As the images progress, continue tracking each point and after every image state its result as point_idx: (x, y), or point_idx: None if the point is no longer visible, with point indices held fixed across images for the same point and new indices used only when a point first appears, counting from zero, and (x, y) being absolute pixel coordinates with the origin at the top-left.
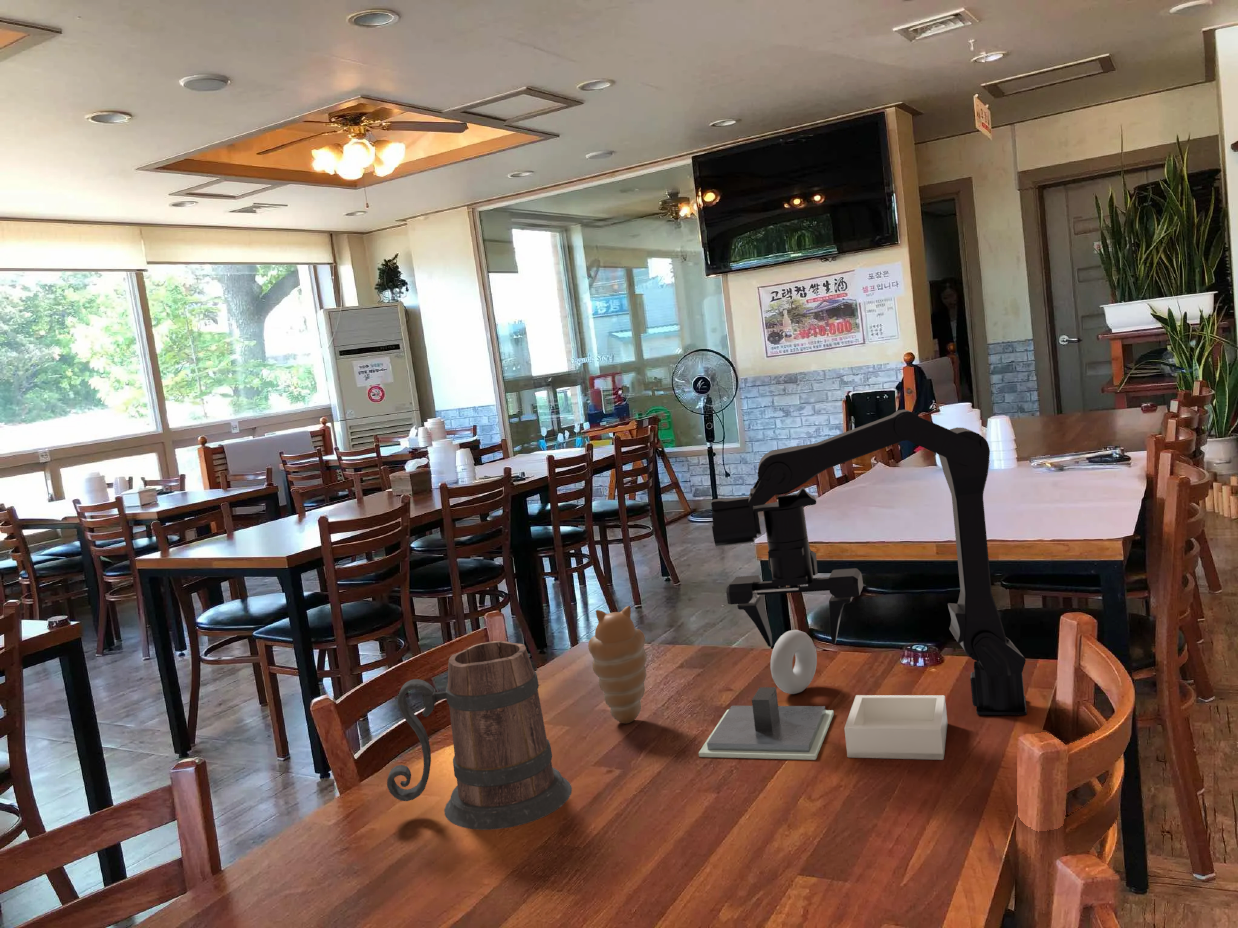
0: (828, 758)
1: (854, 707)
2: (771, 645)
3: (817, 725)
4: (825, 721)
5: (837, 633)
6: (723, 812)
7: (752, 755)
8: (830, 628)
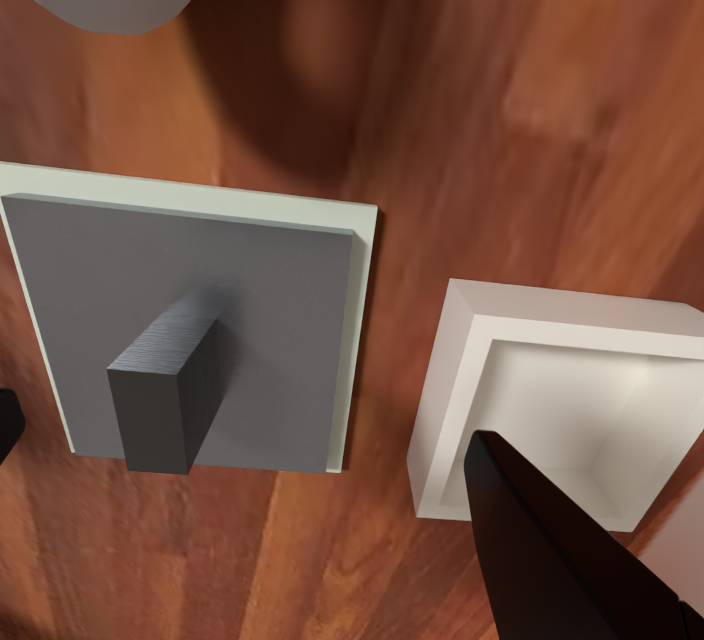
0: (366, 459)
1: (455, 408)
2: (20, 418)
3: (337, 369)
4: (354, 298)
5: (537, 475)
6: (216, 596)
7: None
8: (499, 638)
